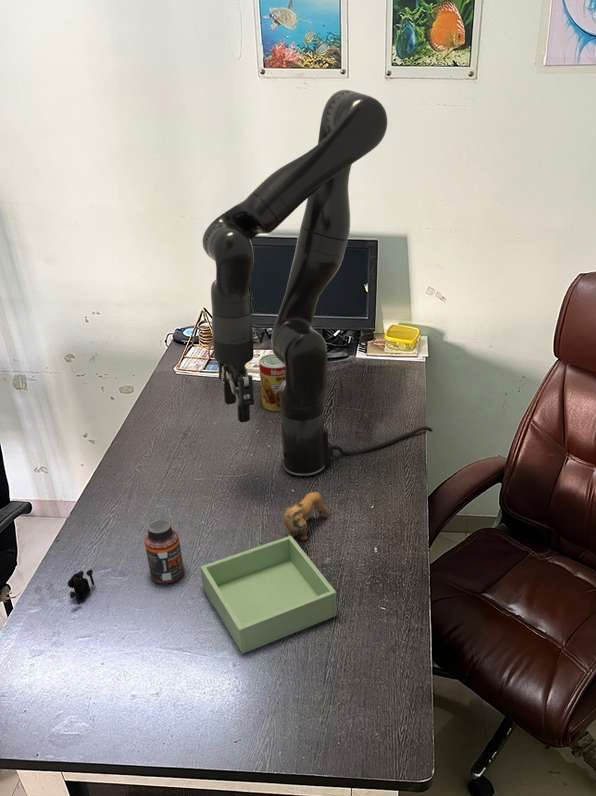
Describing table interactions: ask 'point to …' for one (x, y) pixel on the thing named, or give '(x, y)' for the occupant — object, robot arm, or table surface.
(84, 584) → the black animal figurine
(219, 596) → the desk bin
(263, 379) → the canned food
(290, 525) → the lion figurine
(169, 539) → the supplement bottle
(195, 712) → the table surface
